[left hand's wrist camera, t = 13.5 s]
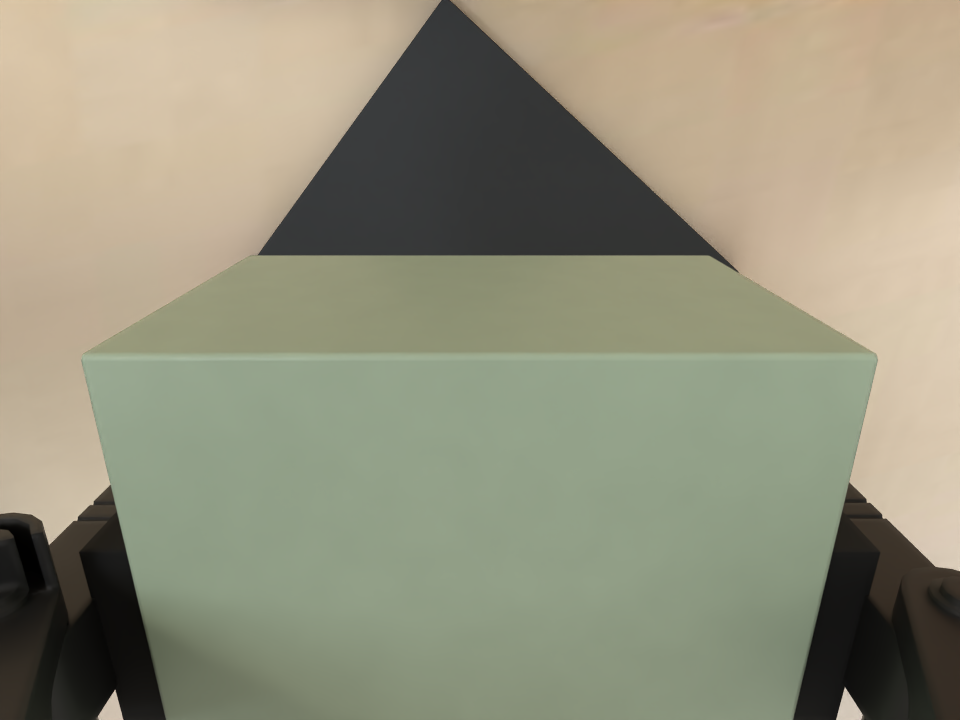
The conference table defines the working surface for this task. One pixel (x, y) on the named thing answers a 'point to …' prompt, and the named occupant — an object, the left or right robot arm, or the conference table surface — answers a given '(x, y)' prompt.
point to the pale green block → (479, 487)
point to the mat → (475, 169)
